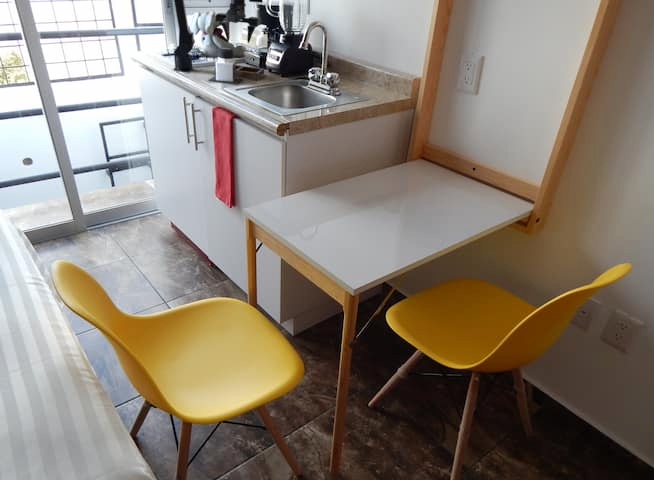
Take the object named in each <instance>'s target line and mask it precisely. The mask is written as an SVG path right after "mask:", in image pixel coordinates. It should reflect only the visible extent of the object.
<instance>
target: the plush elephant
mask: <svg viewBox="0 0 654 480" xmlns="http://www.w3.org/2000/svg"><path fill="white" fill-rule="evenodd" d="M216 14H217V13H216V12H215V11H214V10H211V11H205V12H203V13H202V14H201V13H200V11H196V12H194V13H193V14H192V17H191V19H190V24H189V30H190V32H194V35H195V36H197V34H198V33H200V31H201V32H202V34H201V36H200V42H201V44H202V49H200V48H201V46H199V47H197V45H196V44H194V47H193V48H192V50H191V53H192V52H193V51H194V52H200V53H201V54H200V55H199V57H201V56H203V57H204V56H205V57H210V58H211V57H212V58H218V50H219V49H221V48H228V49H231V50H233V58H234V57H236V58H238V57H239V58H242V57H244V56H245V55H244V52H245V50H246V51H247V48H246V47H245V46H244V45H237V46H235V45H234V44H233V43H231V42H230V40H227V37H226V36H225V35H223V33H224V29H223V28H221V27H222V25H221V24H219V23H218V22H217V21H215V16H216Z"/></svg>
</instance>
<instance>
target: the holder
mask: <svg viewBox="0 0 654 480" xmlns="http://www.w3.org/2000/svg"><path fill="white" fill-rule="evenodd" d="M214 75H215V76H216V66H215V67H214ZM263 77H265V68H261V67H253V66H248V65H247V66H246V65H239V64H236V78H239V79H243V80H248V81H249V80H250V81H259V80H261V79H262V78H263Z"/></svg>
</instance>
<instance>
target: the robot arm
mask: <svg viewBox="0 0 654 480" xmlns="http://www.w3.org/2000/svg"><path fill="white" fill-rule="evenodd" d="M248 2H250V3H260V4H261V3H263V0H248ZM173 3H174V8H175V9H174V10H175V13H176V20H177V24H178V25H177V26H178V45H177V46H176V47H175V49H174V51H173V53H174V55H173V57H174V58H173V59H174V68H173V71H177V72H186V73H188V72H190V71H192V70H194V67H193V59H192V58H191V57H192V54H190V53H191V52H192V51H193V49H194V47H195V43H196V40H195V36H194V35H195V34H194V32H192V31H191V29H190V27H189V24H188V16H187V12H186V11H187V10H186V5H185V0H173ZM246 5H247V3H246V0H230V3H229V9H228V10H227V11H226V13H224V12H219V13H215V14H216V15H215V21H217V22H218V23H219V24H221V27H222V30H223V32H224V34H225V38H226V39H227V40H228V41H230V37H231V36H230V35H231V34H230V33H231V32H230V23H234V24H238V23H243V24H244V23H246V24H248V25H247V37H246V38H247V39H246V40H247V44H249V43H250V42H251V39H252V37H253V34H254V31H255V30H256V28H258V27H260V26H261V25H262V19H261V18H260V16H259V17H258V16H249V17H247V15H246V7H247V6H246ZM192 48H193V49H192Z"/></svg>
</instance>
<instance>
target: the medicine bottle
mask: <svg viewBox="0 0 654 480" xmlns="http://www.w3.org/2000/svg"><path fill="white" fill-rule="evenodd" d="M217 59H218V60H217V61H216V62H215V67H216V75H215V76H216V80H217V81H229V82H233V81H234V80H235V78H236V65H237V64H236V60H234V56H233V50H231V49H228V48H221V49H219V50H218V57H217Z"/></svg>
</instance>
